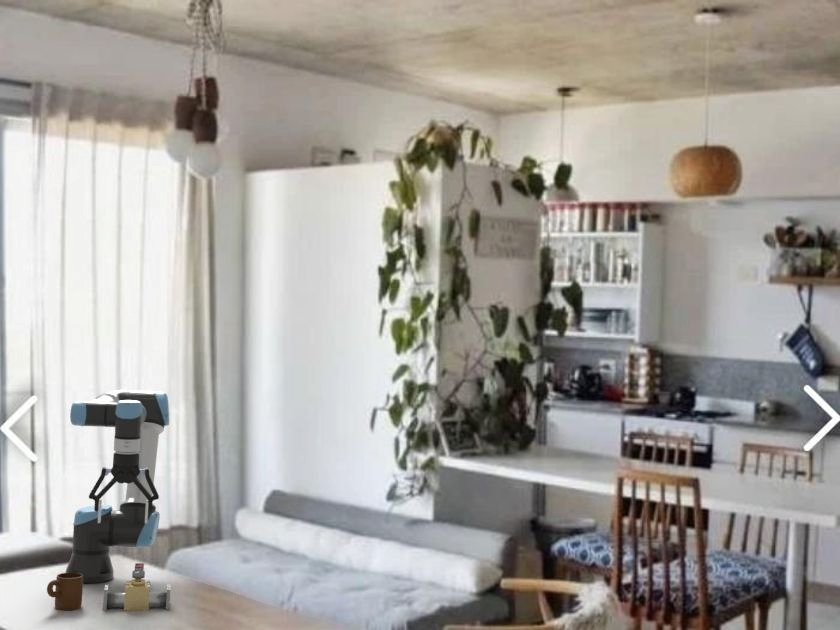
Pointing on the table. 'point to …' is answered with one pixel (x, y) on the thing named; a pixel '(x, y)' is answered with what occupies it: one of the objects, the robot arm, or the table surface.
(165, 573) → the table surface
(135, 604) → the valve pipe
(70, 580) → the mug
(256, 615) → the table surface
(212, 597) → the table surface
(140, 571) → the lever
